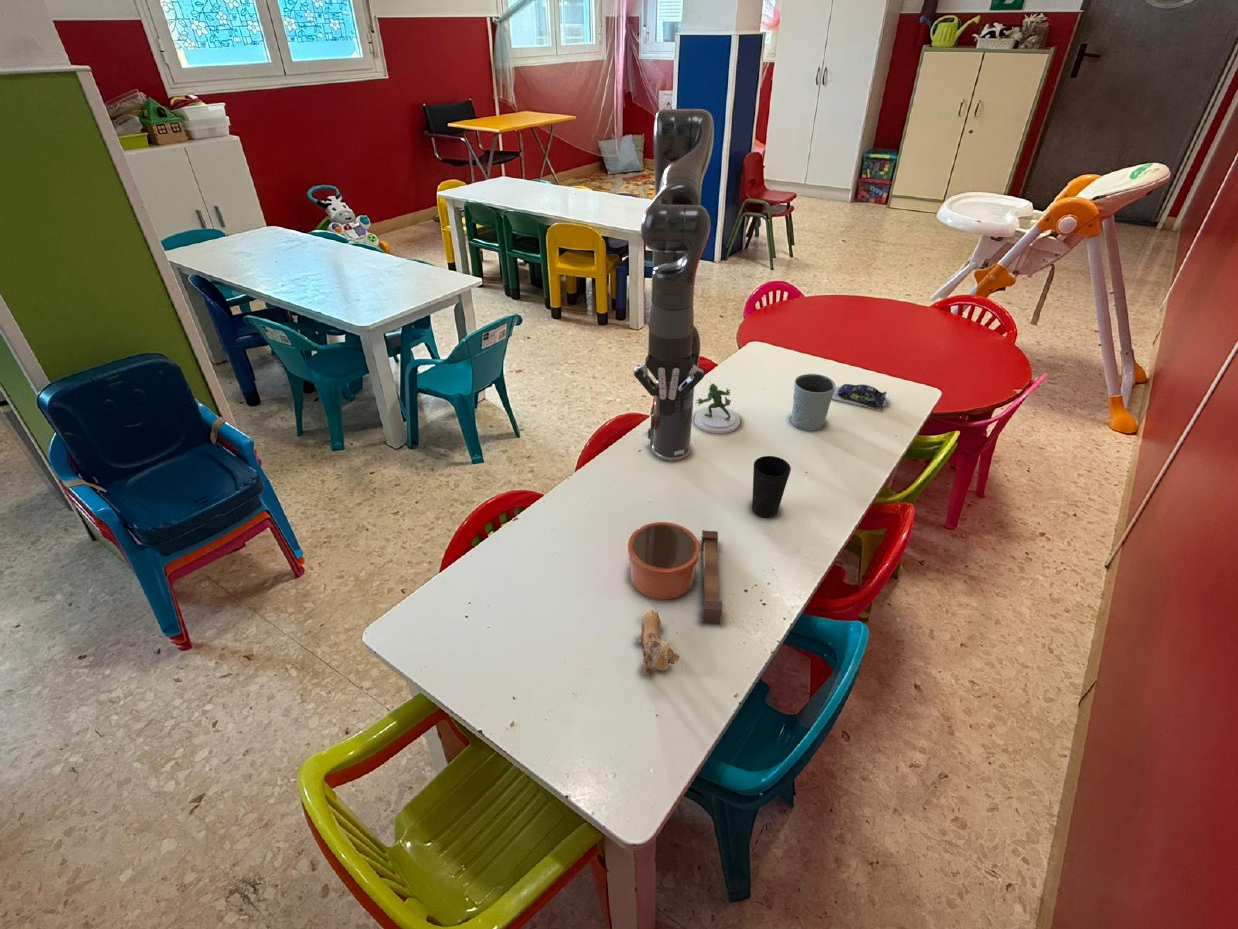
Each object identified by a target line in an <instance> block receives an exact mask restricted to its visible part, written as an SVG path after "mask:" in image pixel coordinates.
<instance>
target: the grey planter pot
mask: <svg viewBox="0 0 1238 929" xmlns="http://www.w3.org/2000/svg"><path fill="white" fill-rule="evenodd" d="M793 385H794V386H793V391H794V392H793V398H792V400H793V401H792V410H791V411H792V412H791V423H792V424H793V426H795V427H797V428H798V429H801V430H805V431H818V430H820V429H822V428H823V427H824V425H825V422H826V417H827V415H828V413H829V410H830V406H831V401H832V396H833V393H834V390H835V388H837V386H836V382H835V381H834V380H833V379H831V378H829V377H828V376H826V375H822V374H819V373H806V374H801V375H798V376H797V377H796V378H795V379H794V384H793Z"/></svg>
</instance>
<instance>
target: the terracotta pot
mask: <svg viewBox="0 0 1238 929" xmlns="http://www.w3.org/2000/svg"><path fill="white" fill-rule="evenodd" d="M700 551H701V545H700V542H699V540H698V538H697V537H696V536H695V534H694V533H693V532H692V531H691V530H689V529H688V528H687V527H685V526H682V525H680V524H678V523H674V522H667V521H658V522H657V521H656V522H651V523H647V524H643V525H641V527H639V528H637V529H636V530H634V531H633V533H632V534H631V535H630V536H629V539H628V541H627V557H628V559H629V562H630V580H631V583H632V584H633V586H634V588H635V589H636V590H637V591H639V592H640V593H641V594H643V595H645V596H647V597H649V598H653V599H657V600H671V599H675V598H679V597H681V596H683V595H684V594H686V593H687V592H688V591H690V589H691V587H692V586H693V584H694V580H695V570H696V565H698V562H699V559H700Z"/></svg>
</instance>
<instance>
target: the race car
mask: <svg viewBox="0 0 1238 929" xmlns="http://www.w3.org/2000/svg"><path fill="white" fill-rule="evenodd" d="M887 393H888V392H887V391H883V392H881V391H880V390H878V389H877V387H875V386H871V385H868V384H862V383H861V384H851V383H850V384H849V383H844V384H842V385H841V386H840V387H837V386H836V387H835V390H834V393H833V396H832V399H831V401H837V402H840V403H841V402H842V403H846V404H850V405H855V406H859V407H863V408H867V409H873V410H876V411H881V412H882V410H881V409H882V407H886V406H887V400H886V395H887Z"/></svg>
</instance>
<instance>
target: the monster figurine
mask: <svg viewBox="0 0 1238 929" xmlns="http://www.w3.org/2000/svg"><path fill="white" fill-rule="evenodd" d="M708 381H709V380H708ZM709 383H711V381H709ZM730 391H731V389H728V388H726V390H725V391H724V390H721V389H718V386H717V385H716V384H715V383H714V382H713V383H711V384H710V385H709V386H708V392H709V393H708V394H707V397H706V398H704V399H703V398H697V399H696V400H695V404H697V407H699V406H700V405H702V404H704V403H708V402H710V401H711V400H713V402H712V403H710V404H709V405H708V407H705V408H702V409H700V410H698V411H697V412H696V413H695V415H694V424H695V426H697V427H698V428H699V429H701V430H702V431H705V432H707V433H710V434H728V433H732V432H733V431H735V430H737V429H738V428H739V426H740V422H741V419H740V417H739V415H738V414H737V413H736V412H735V411H733V410H731V409H728V408H726V407H728V406H730V404H731V401H732V399H729V398H727V396H731V392H730ZM722 396H725V398H724V403H723V398H722Z"/></svg>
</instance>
